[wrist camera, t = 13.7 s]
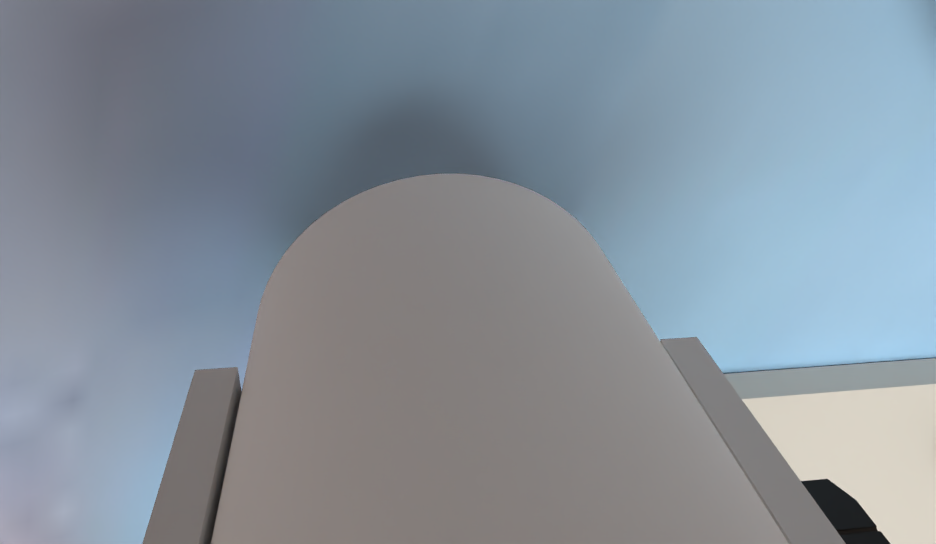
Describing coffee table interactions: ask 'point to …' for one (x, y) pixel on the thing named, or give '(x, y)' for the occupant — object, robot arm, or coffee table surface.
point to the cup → (468, 388)
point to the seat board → (858, 435)
